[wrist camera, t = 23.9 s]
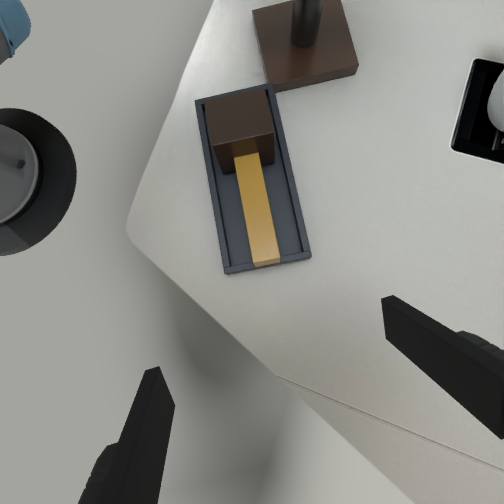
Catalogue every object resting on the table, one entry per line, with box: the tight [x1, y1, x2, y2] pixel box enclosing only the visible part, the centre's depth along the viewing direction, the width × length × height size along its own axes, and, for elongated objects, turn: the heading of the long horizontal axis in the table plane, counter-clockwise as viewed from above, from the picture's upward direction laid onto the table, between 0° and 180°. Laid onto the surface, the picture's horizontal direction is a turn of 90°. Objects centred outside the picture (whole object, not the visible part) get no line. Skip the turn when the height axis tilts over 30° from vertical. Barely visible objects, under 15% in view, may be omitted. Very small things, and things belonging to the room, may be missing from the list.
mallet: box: [204, 87, 280, 267], centre depth 30 cm, size 19×7×6 cm, turn 11°
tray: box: [195, 83, 312, 275], centre depth 34 cm, size 24×11×2 cm, turn 11°
